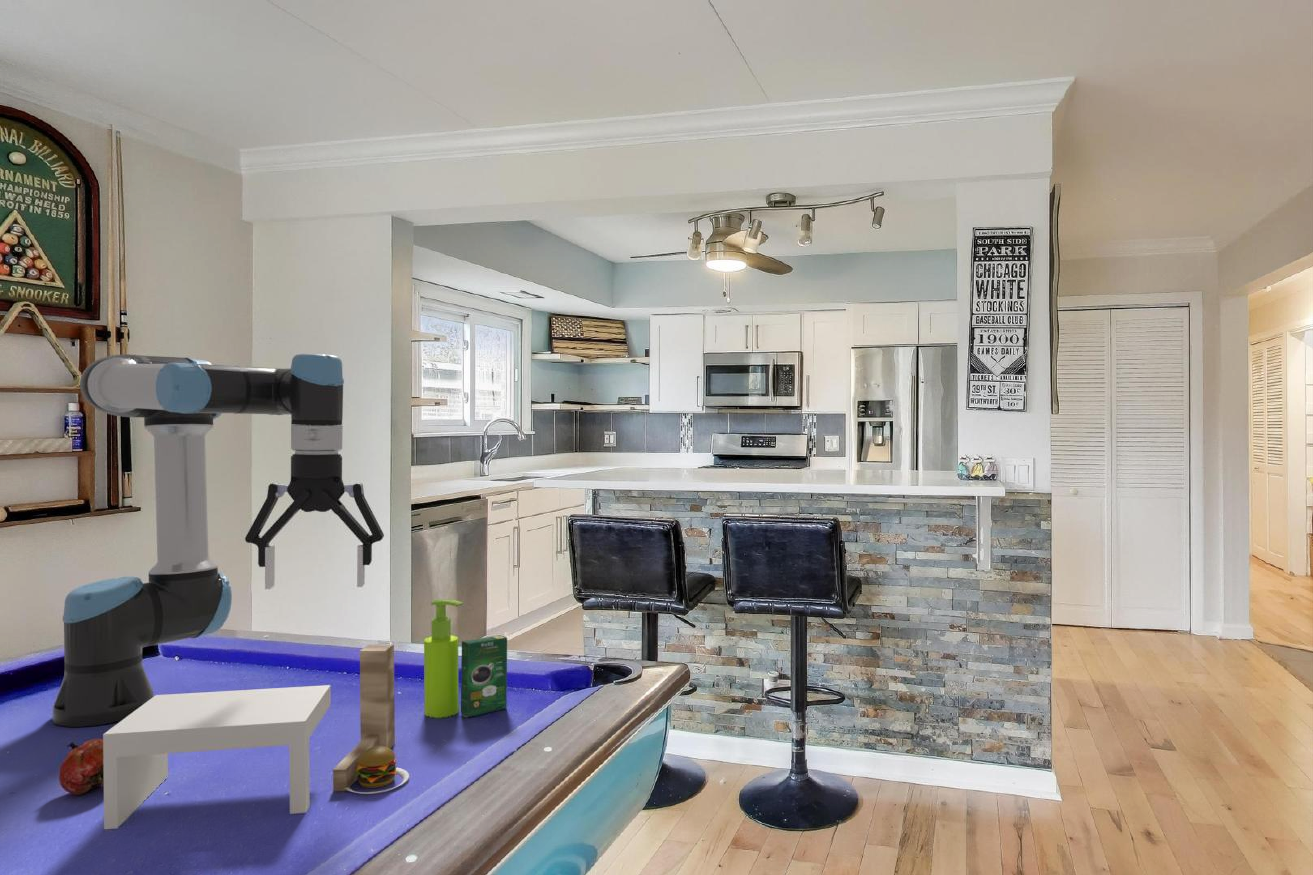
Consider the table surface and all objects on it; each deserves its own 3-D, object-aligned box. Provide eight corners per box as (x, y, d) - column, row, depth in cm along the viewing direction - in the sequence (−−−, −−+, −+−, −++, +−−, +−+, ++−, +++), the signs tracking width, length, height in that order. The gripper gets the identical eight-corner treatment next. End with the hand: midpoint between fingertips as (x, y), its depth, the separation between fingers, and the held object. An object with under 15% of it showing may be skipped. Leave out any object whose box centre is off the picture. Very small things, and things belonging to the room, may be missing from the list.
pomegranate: (132, 797, 119) (99, 746, 123) (144, 765, 116) (109, 714, 120) (75, 824, 113) (41, 769, 116) (86, 790, 110) (51, 735, 113)
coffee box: (500, 704, 152) (500, 633, 152) (508, 708, 150) (508, 636, 150) (460, 714, 147) (459, 640, 147) (467, 718, 145) (466, 643, 145)
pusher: (369, 744, 133) (368, 644, 133) (394, 743, 133) (393, 644, 133) (325, 791, 116) (324, 676, 116) (354, 790, 116) (352, 675, 116)
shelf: (156, 777, 120) (155, 695, 120) (331, 764, 125) (330, 684, 125) (104, 829, 105) (103, 734, 105) (306, 812, 109) (305, 721, 109)
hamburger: (337, 812, 110) (336, 771, 110) (326, 780, 121) (326, 742, 121) (428, 794, 116) (428, 754, 116) (410, 764, 127) (410, 728, 127)
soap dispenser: (455, 719, 145) (454, 604, 144) (418, 716, 146) (417, 602, 146) (469, 708, 150) (468, 597, 150) (434, 705, 152) (433, 596, 152)
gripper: (223, 452, 125) (223, 593, 126) (396, 454, 130) (395, 589, 131) (238, 450, 133) (237, 583, 133) (401, 452, 138) (400, 580, 138)
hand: (315, 586), depth 132 cm, fingers open, 13 cm apart
